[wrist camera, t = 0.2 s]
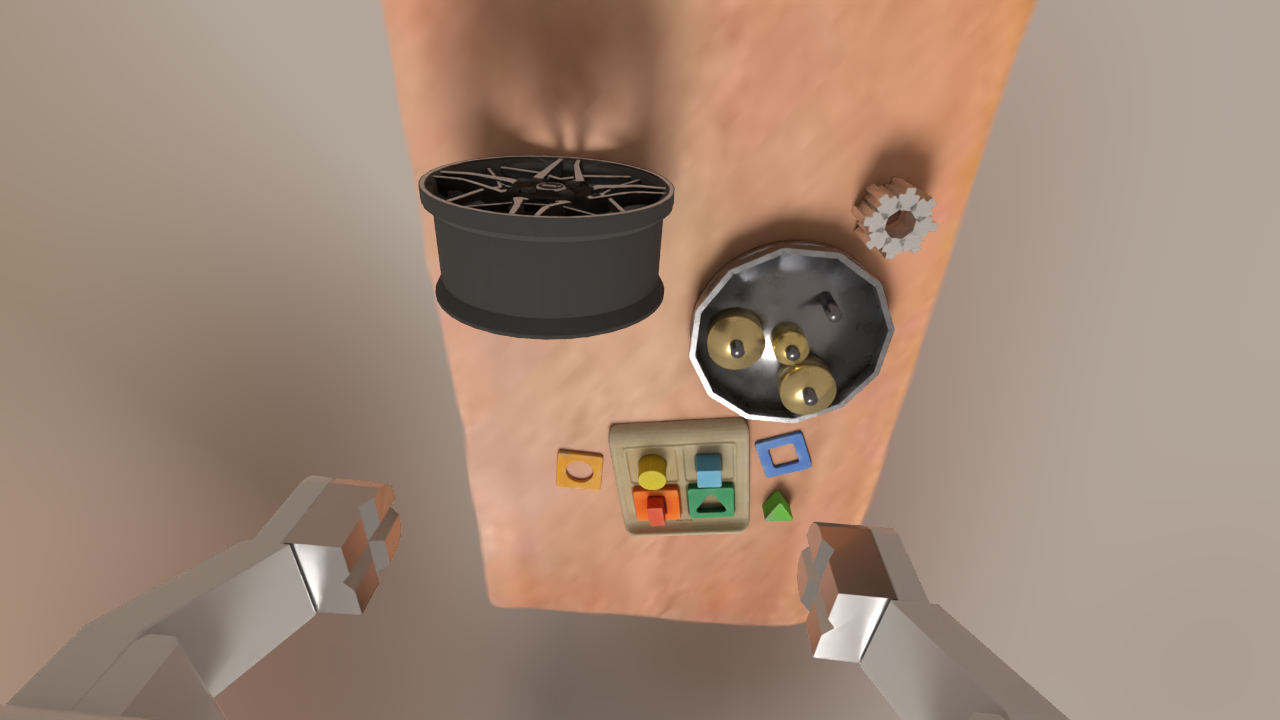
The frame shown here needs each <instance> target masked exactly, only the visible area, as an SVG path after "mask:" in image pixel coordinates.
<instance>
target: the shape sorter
mask: <svg viewBox="0 0 1280 720" xmlns="http://www.w3.org/2000/svg"><path fill="white" fill-rule="evenodd" d="M608 439H609V446H610V451H611V457H612V462H613V467H614V472H615V477H616V482H617V487H618V492H619V497H620V502H621V507H622V512H623V517H624V523H625V527H626V530H627V532H628V533H629V534H630V535H631V536H634V537H645V536H675V535H702V534H731V533H742V532H744V531H745V530H746V529H747V527H748V525H749V428H748V425H747V423H746V421H745V420H744V419H743V418H718V419H699V420H680V421H663V422H643V423H623V424H615V425H613V426H612V427H611V429H610V431H609V438H608ZM790 443H793V444H794V446H795V449H796V453H797V456H798V460H797V461H794V462H790V463H786V464H782V465H778V466H774V465H773V463H772V460H771V457H770V454H769V451H768V450H769V449H771V448H775V447H779V446H783V445H787V444H790ZM755 447H756V450H757V452H758V455H759V458H760V461H761V464H762V467H763V470H764V472H765V475H766V477H768V478H769V477H774V476H778V475H782V474H787V473H791V472H795V471H799V470H804V469H808V468H810V467H811V466H812V465H811V461H810V458H809V454H808V451H807V448H806V445H805V441H804V438H803V435H802V433H801V432H800V431H798V432H794V433H790V434H786V435H782V436H778V437H774V438H770V439H766V440H762V441H758V442H756V443H755ZM574 461H582V462H585V463H587V464H589V465H590V466H591V467H592V469H593V475H592V476H591V477H590V478H588V479H585V480H577V479H574V478H572V477H571V476H570V475H569V474H568V473H567V471H566V467H567V465H568V464H570V463H571V462H574ZM602 465H603V456H602V455H598V454H589V453H581V452H572V451H563V450H560V451H559V452H558V458H557V485H558V486H560V487H569V488H578V489H587V490H596V491H598V490H600V487H601V477H602ZM762 507H763V512H764V517H765V520H766V521H791V520H793V517H792V513H791V509H790V505H789V504H788V503H787V501H786V500H785V499H784V497H783V496H782V495H781V493H780V492H779V491H778V490H776V491H775V492H774V493H773V494H772V495H771V496H770V498H769V499H768V500H767V501H766V502H765V503H764V504H763V506H762Z"/></svg>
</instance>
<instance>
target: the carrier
mask: <svg viewBox="0 0 1280 720" xmlns="http://www.w3.org/2000/svg"><path fill="white" fill-rule="evenodd" d="M893 333H894V325H893V322H892V318H891V315H890V311H889V308H888V304H887V301H886V297H885V294H884V290H883V287H882V284H881V283H880V281H879V280H878V279H877V278H876V277H875V276H873V275H872V274H871V273H869V272H868V271H867V270H866V269H865V267H864V266H863V265H862V264H860V263H859V262H858V261H857V260H856V259H855V258H853V257H852V256H850V255H849V254H847V253H846V252H844V251H842V250H840V249H838V248H835V247H833V246H830V245H827V244H823V243H820V242H813V241H807V240H789V241H779V242H774V243H770V244H765V245H763V246H760V247H757V248H754V249H752V250H750V251H748V252H745V253H743V254H741V255H740V256H738V257H736V258H735V259H733V260H732V261H730V262H729V263H728V264H726V265H725V266H724V267H723V268H722V269H720V270H719V271H718V272H717V273H716V274H715V276H714V277H713V278H712V279H711V280H710V281H709V282H708V284H707V285H706V287H705V288H704V289H703V291H702V293H701V295H700V297H699V299H698V300H697V303H696V305H695V308H694V311H693V315H692V320H691V329H690V346H689V357H690V359H691V361H692V363H693V365H694V367H695V369H696V371H697V373H698V375H699V377H700V379H701V381H702V383H703V385H704V387H705V389H706V391H707V393H708V395H709V396H710V397H712V398H714V399H715V400H717V401H719V402H720V403H722V404H723V405H725V406H727V407H728V408H730V409H731V410H733V411H735V412H736V413H738V414H740V415H741V416H743V417H744V418H747V419H754V420H765V421H775V422H786V423H796V422H799V421H803V420H806V419H809V418H812V417H815V416H818V415H821V414H824V413H827V412H830V411H833V410H836V409H840V408H841V407H843V406H844V405H845V404H846V403H848V402H849V401H850V400H851V399H852V398H853V397H854V396H855V395H856V394H858V393H859V392H860V391H861V390H862V389H863V388H864V387H865V386H866V385H868V384H869V383H870V382H871V381H872V380H873V379H874V378H875V377H876V376H878V374H879V372H880V370H881V367H882V364H883V361H884V358H885V355H886V353H887V350H888V347H889V344H890V341H891V338H892V336H893Z"/></svg>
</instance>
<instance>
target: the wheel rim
mask: <svg viewBox="0 0 1280 720" xmlns="http://www.w3.org/2000/svg"><path fill="white" fill-rule="evenodd" d="M419 191H420V199H421V203H422V204H423V206H424V208H425V209H426V210H427V211H428V212H429V213H431V214H432V215H433V216H434V223H435V231H436V238H437V246H438V254H439V261H440V269H441V276H440V278H439V280H438V282H437V284H436V291H435V292H436V297H437V301H438V303H439V304H440V306H441V308H442V309H443V310H444V311H445V312H446V313H448V314H449V315H450V316H451V317H453V318H455V319H456V320H458V321H460V322H461V323H464V324H466V325H468V326H471V327H473V328H476V329H480V330H483V331H487V332H490V333H494V334H498V335H504V336H510V337H516V338H529V339H545V340H547V339H572V338H582V337H590V336H595V335H600V334H605V333H610V332H613V331H617V330H620V329H623V328H627V327H629V326H631V325H634V324H636V323H638V322H640V321H642V320H644V319H645V318H647V317H649V316H650V315H651V314H652V313H654V312H655V311H656V310H657V308H658V307H659V306H660V304H661V302H662V300H663V296H664V286H663V282H662V280H661V279H660V277H659V275H658V273H659V261H660V248H661V236H662V224H663V219H664V218H665V217H666V216H667V215H669V214H670V212H671V211H672V207H673V204H674V186H673V184H672V183H671V182H670V181H668V180H667V179H666V178H664V177H662V176H660V175H658V174H656V173H654V172H651V171H648V170H645V169H642V168H639V167H635V166H631V165H627V164H622V163H617V162H611V161H605V160H598V159H589V158H579V157H566V156H540V155H524V156H501V157H489V158H479V159H472V160H465V161H460V162H455V163H451V164H448V165H444V166H441V167H438V168H435V169H433V170H430V171H429V172H427V173H426V174H425V175H423V176H422V177H421V178H420V180H419Z"/></svg>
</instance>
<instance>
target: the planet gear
mask: <svg viewBox="0 0 1280 720" xmlns="http://www.w3.org/2000/svg"><path fill="white" fill-rule="evenodd" d="M866 190H867V192H868V193H869V194H867V195H866V196H865V197H864V198H865V199H866V201H861V203H860V206H856V205H854V206H853V210H852V214H853V215H854V217H855V218H856V219H857V220H858V221H859V222H857V224H858V225H859V227H858V228H857V229H855V230H854V231H855V233H856V234H857V236H858V237H859V238H860V239H861V240H862V242H863V243H864V244H865V245H866V246H867V247H868V248H869V249H872V248H873V247H875V248H876V249H877V250H878V251H879V252H880V253H881V254H882V255H883V256H884V258H887V259H894V257H895V254H896V253H900V254H901V252H902V250H904V251H905V252H907V251H908V250H910V251H911V252H912V253H913V254H914V253H916V252H917V251H919V250H920V249H921V247H920V245H919V243H921V242H922V241H924V240H923V239H922V237H921V236H923V237H927V234H928V232H935V231H936V228H937V225H938V223H937V222H935V221H934V220H933V217H932V216H931V214H933V212H932V211H931V208H933V207H934V206H936V205H937V204H936V202H935V201H934V199H933V198H932V197H931V196H929V195H928V194H926V193H924V192H923V191H921V190H920V189H918V188H917V187H914V186H912V185H911V184H909V183H908V182H906V181H905V180H903V179H901V178H892V181H891V184H886V183H885V187H883V186H882V185H880V186H879V187H877V186H876V185H875V184H871V185H870V186H869V187H867V188H866ZM898 210H901V211H900V214H899V217H898V219H897V220H896V221H894V222H893V223H891V224H890V225H888V226H886V223H887V220H888V217H890V216H891V215H893V214H894V213H895V212H897V211H898Z"/></svg>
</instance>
